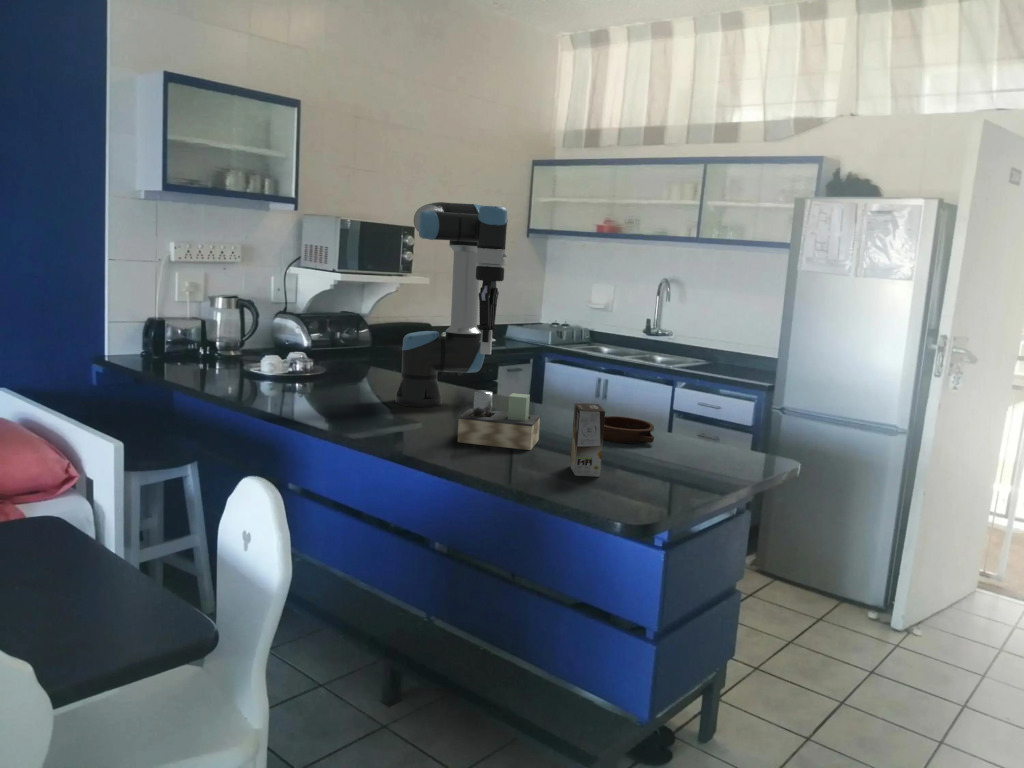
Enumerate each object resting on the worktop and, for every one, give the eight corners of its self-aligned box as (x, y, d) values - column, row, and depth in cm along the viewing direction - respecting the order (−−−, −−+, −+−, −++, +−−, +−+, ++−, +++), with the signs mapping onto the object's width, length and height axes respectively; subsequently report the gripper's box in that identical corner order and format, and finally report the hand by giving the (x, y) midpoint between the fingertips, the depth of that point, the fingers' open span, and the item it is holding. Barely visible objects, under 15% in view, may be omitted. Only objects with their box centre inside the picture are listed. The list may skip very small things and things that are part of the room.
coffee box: (601, 477, 197) (606, 411, 194) (574, 476, 197) (579, 410, 194) (594, 466, 206) (599, 403, 203) (568, 465, 206) (573, 402, 203)
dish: (631, 451, 225) (633, 433, 224) (572, 434, 240) (573, 417, 240) (670, 443, 236) (672, 426, 235) (611, 427, 252) (613, 411, 251)
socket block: (457, 442, 222) (458, 416, 221) (469, 432, 234) (470, 408, 233) (530, 450, 218) (532, 424, 217) (538, 440, 230) (540, 415, 229)
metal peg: (471, 418, 224) (472, 392, 223) (475, 414, 229) (476, 389, 228) (488, 419, 223) (490, 394, 222) (493, 416, 228) (494, 391, 227)
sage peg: (507, 421, 222) (508, 396, 221) (511, 418, 227) (512, 393, 226) (524, 423, 221) (526, 397, 220) (528, 419, 226) (529, 394, 225)
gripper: (498, 266, 212) (493, 358, 216) (509, 266, 225) (504, 352, 229) (470, 265, 213) (465, 355, 217) (482, 264, 226) (478, 350, 230)
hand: (485, 353), depth 223 cm, fingers closed
